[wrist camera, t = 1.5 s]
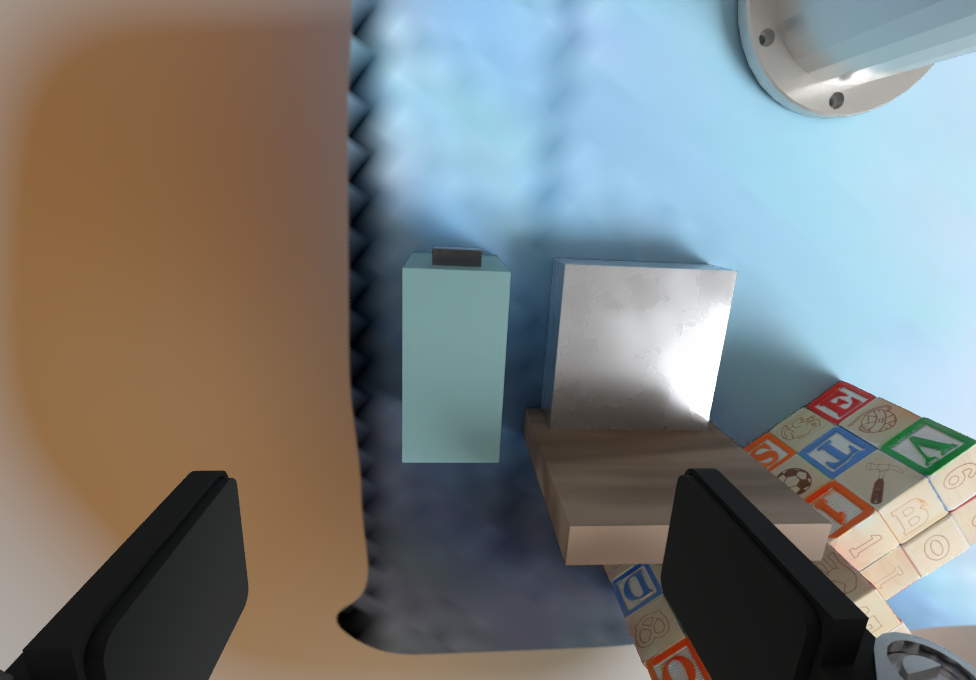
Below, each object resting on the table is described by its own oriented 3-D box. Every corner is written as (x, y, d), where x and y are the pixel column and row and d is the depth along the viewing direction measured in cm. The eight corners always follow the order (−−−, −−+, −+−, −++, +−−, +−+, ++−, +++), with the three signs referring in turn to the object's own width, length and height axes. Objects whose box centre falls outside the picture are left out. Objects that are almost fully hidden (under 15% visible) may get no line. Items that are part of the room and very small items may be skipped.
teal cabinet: (413, 238, 28) (402, 250, 21) (497, 241, 29) (512, 254, 22) (412, 406, 31) (402, 462, 24) (488, 407, 32) (498, 462, 25)
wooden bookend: (537, 257, 29) (596, 294, 17) (725, 265, 30) (896, 304, 19) (523, 435, 32) (565, 565, 21) (692, 436, 33) (821, 560, 22)
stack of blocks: (839, 375, 33) (1055, 472, 21) (877, 436, 35) (1096, 556, 23) (595, 551, 36) (667, 725, 24) (640, 600, 37) (729, 784, 26)
